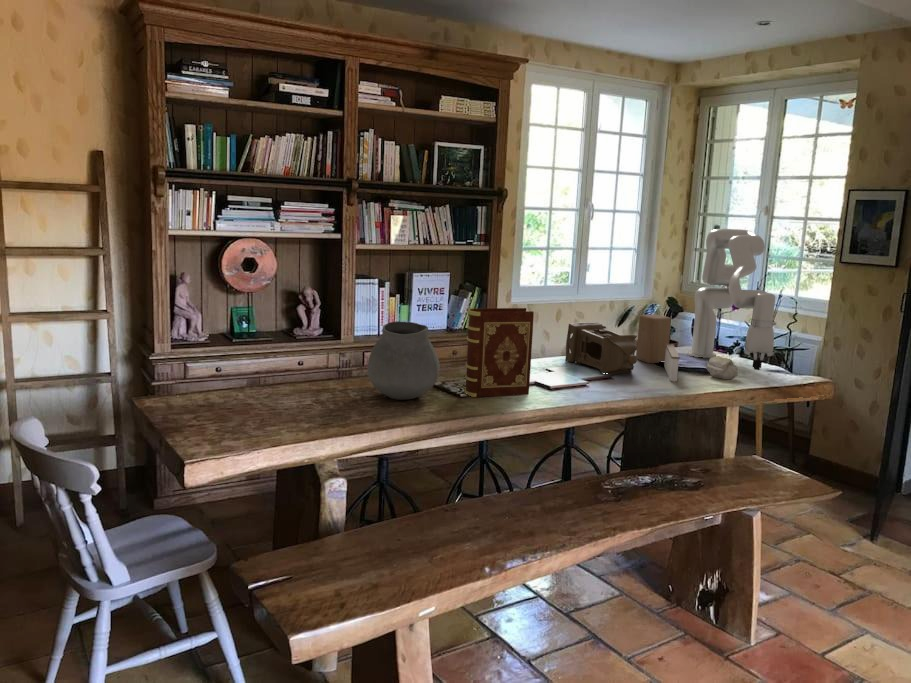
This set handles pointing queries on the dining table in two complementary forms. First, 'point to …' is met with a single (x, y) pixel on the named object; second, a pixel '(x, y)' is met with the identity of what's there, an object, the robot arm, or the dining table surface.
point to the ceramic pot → (403, 361)
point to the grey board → (671, 362)
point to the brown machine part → (600, 348)
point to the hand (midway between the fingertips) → (756, 369)
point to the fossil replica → (721, 368)
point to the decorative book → (499, 351)
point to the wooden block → (653, 338)
